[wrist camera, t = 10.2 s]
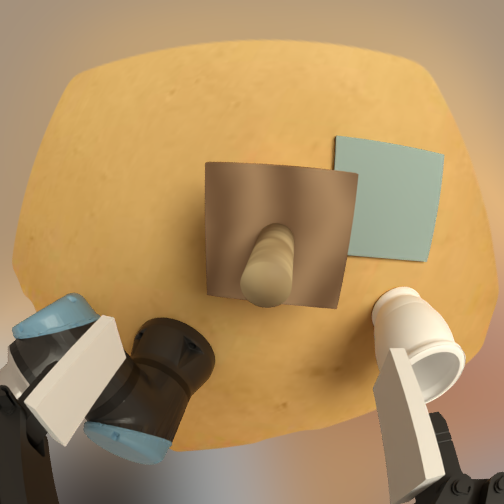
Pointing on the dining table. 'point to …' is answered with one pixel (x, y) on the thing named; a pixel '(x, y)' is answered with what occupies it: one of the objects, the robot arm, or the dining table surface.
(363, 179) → the mat
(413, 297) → the jar
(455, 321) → the dining table surface
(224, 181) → the lid
